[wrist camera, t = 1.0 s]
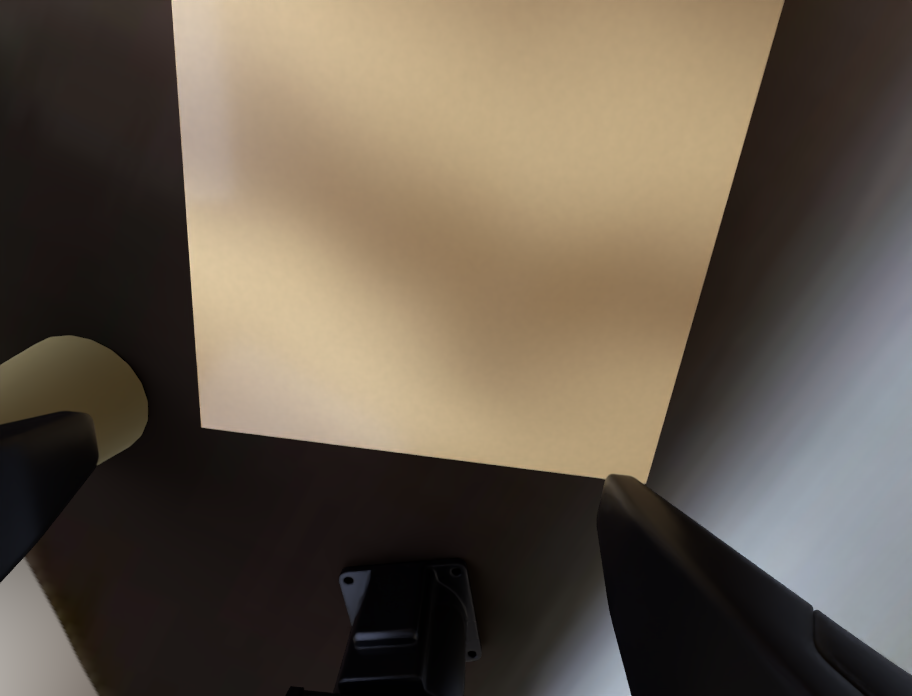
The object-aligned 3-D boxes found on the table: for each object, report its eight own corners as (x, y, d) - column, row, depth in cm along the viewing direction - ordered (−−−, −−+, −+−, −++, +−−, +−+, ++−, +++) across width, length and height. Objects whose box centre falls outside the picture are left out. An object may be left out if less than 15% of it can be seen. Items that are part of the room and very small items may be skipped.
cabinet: (268, -37, 17) (161, -136, 12) (697, 12, 17) (803, -63, 11) (273, 360, 22) (200, 428, 17) (604, 401, 22) (646, 484, 16)
